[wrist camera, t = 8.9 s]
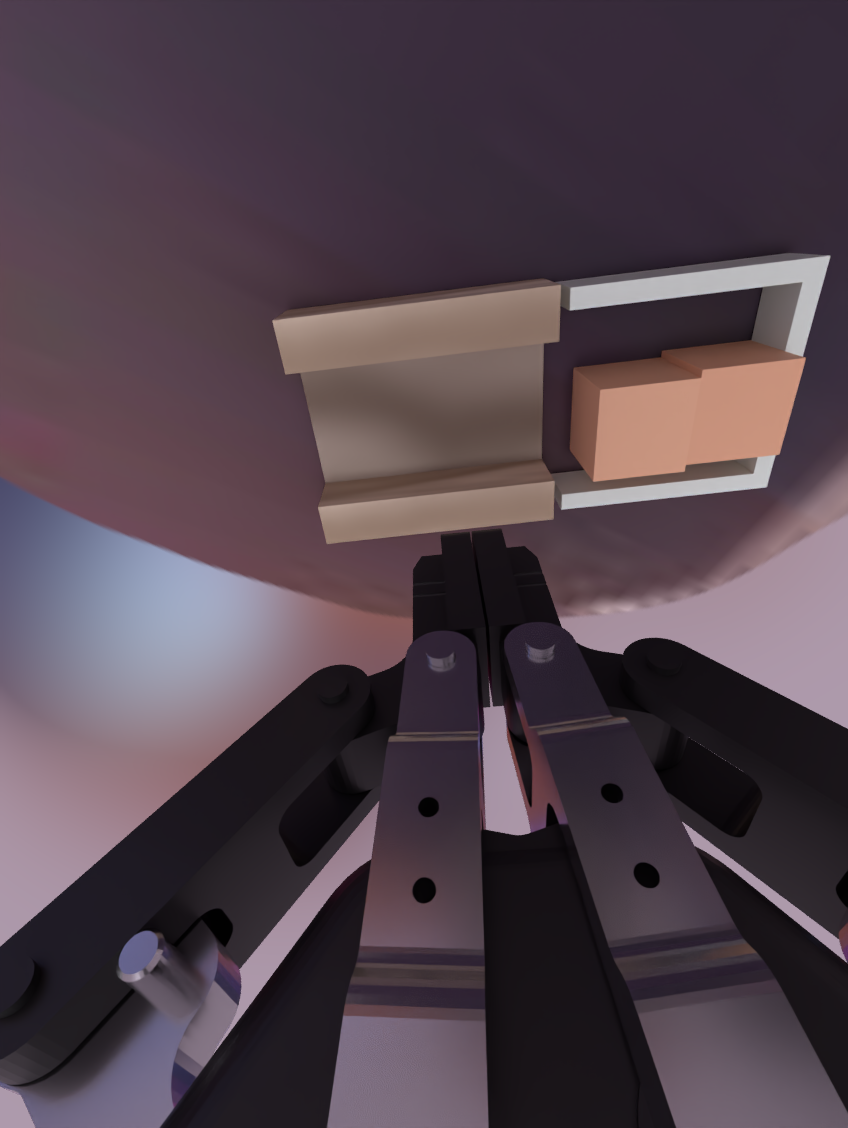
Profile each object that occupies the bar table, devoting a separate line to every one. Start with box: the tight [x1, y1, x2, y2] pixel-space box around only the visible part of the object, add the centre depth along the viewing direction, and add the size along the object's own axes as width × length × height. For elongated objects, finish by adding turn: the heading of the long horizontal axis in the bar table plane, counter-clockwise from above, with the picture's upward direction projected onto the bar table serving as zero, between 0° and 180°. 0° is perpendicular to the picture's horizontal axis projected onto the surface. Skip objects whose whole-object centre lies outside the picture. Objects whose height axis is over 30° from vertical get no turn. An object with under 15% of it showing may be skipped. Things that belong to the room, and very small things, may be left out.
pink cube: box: [570, 357, 701, 482], centre depth 23 cm, size 4×4×4 cm
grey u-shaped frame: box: [551, 253, 830, 510], centre depth 23 cm, size 10×10×2 cm
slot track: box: [272, 278, 561, 544], centre depth 24 cm, size 10×11×3 cm
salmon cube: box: [661, 340, 806, 465], centre depth 23 cm, size 4×4×4 cm
